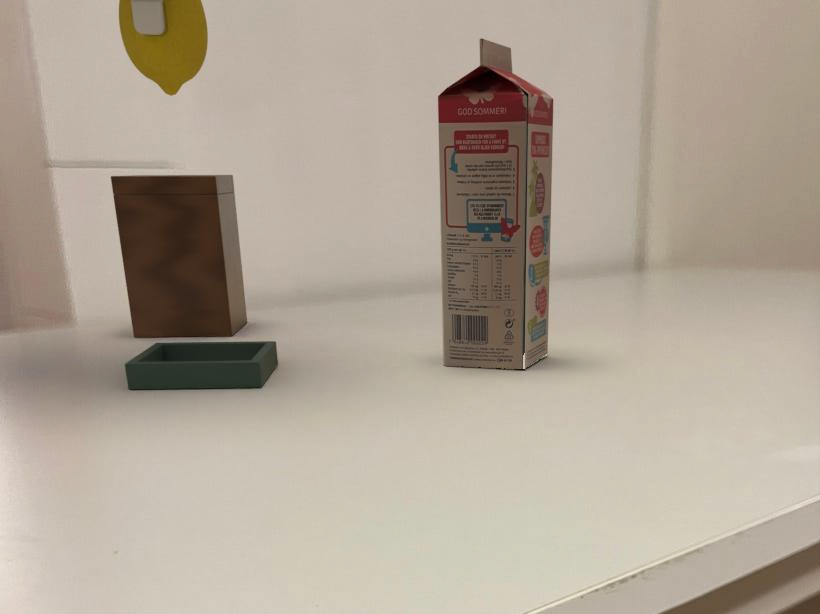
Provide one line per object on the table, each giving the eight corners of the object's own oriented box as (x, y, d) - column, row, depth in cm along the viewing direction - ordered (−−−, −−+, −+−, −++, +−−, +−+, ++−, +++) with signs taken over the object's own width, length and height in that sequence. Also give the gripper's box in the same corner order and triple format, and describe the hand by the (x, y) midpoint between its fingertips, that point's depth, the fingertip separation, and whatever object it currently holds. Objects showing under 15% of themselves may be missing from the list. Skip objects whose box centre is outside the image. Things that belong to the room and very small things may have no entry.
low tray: (128, 389, 71) (124, 363, 70) (159, 366, 79) (155, 342, 78) (261, 387, 71) (258, 361, 70) (278, 364, 80) (276, 341, 79)
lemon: (121, 96, 69) (104, -44, 66) (202, 99, 71) (190, -36, 68) (136, 91, 64) (118, -59, 61) (222, 95, 67) (209, -50, 63)
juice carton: (443, 365, 79) (436, 40, 70) (471, 351, 85) (468, 49, 75) (524, 370, 77) (528, 36, 68) (547, 355, 83) (554, 46, 73)
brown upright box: (133, 337, 93) (110, 176, 87) (156, 323, 101) (136, 175, 95) (232, 336, 93) (215, 175, 88) (247, 322, 101) (232, 174, 96)
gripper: (128, -174, 70) (154, 56, 76) (22, -296, 51) (67, 21, 57) (220, -172, 70) (239, 57, 76) (147, -292, 52) (179, 22, 58)
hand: (164, 41), depth 66 cm, fingers closed on lemon, 5 cm apart
